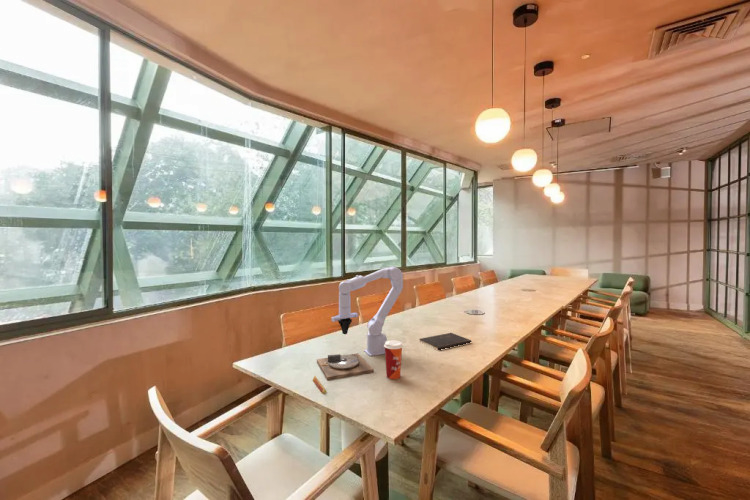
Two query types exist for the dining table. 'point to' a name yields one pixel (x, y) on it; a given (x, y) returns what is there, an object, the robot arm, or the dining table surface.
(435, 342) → the black spiral notebook
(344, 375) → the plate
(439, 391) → the dining table surface
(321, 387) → the chocolate bar
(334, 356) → the dial
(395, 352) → the paper cup
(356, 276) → the robot arm
